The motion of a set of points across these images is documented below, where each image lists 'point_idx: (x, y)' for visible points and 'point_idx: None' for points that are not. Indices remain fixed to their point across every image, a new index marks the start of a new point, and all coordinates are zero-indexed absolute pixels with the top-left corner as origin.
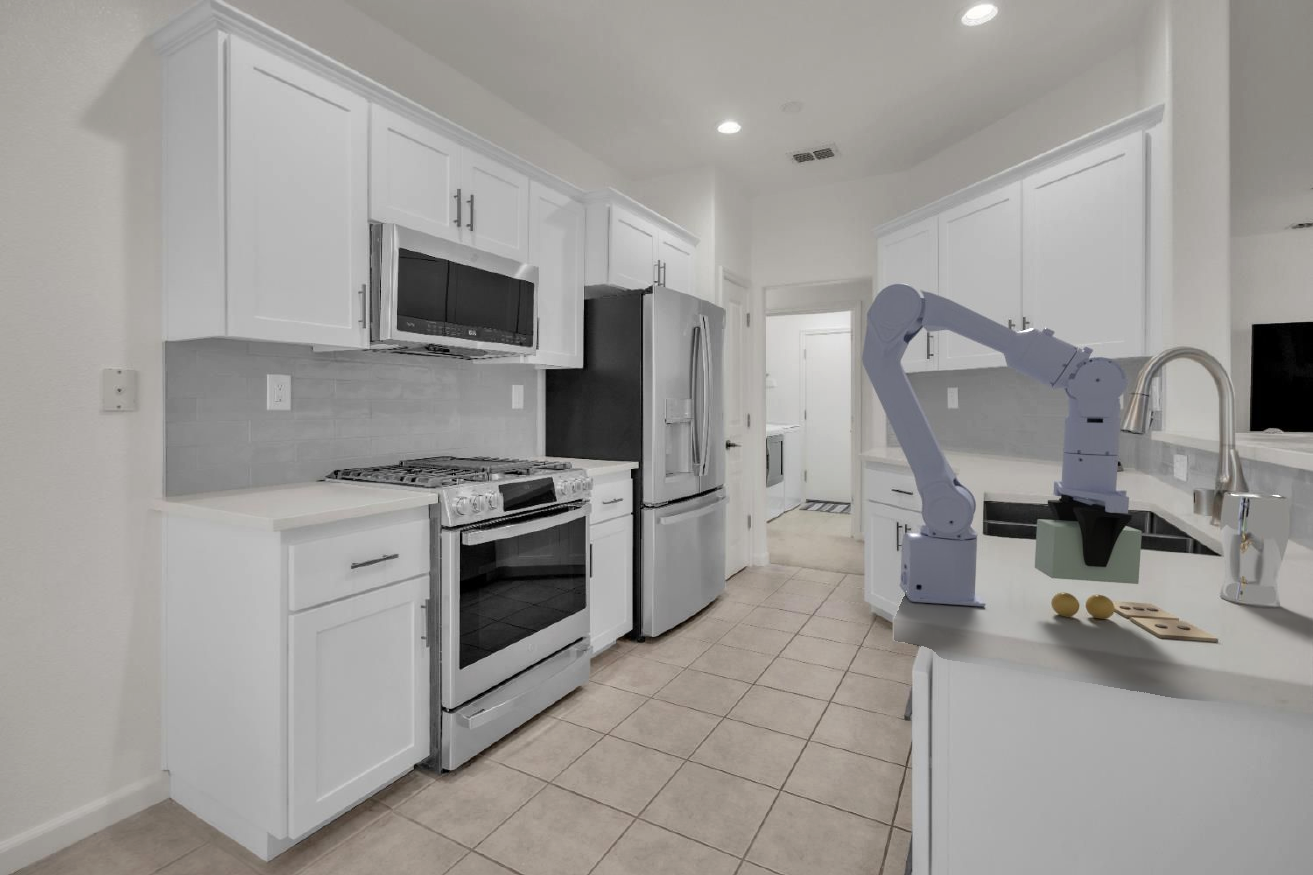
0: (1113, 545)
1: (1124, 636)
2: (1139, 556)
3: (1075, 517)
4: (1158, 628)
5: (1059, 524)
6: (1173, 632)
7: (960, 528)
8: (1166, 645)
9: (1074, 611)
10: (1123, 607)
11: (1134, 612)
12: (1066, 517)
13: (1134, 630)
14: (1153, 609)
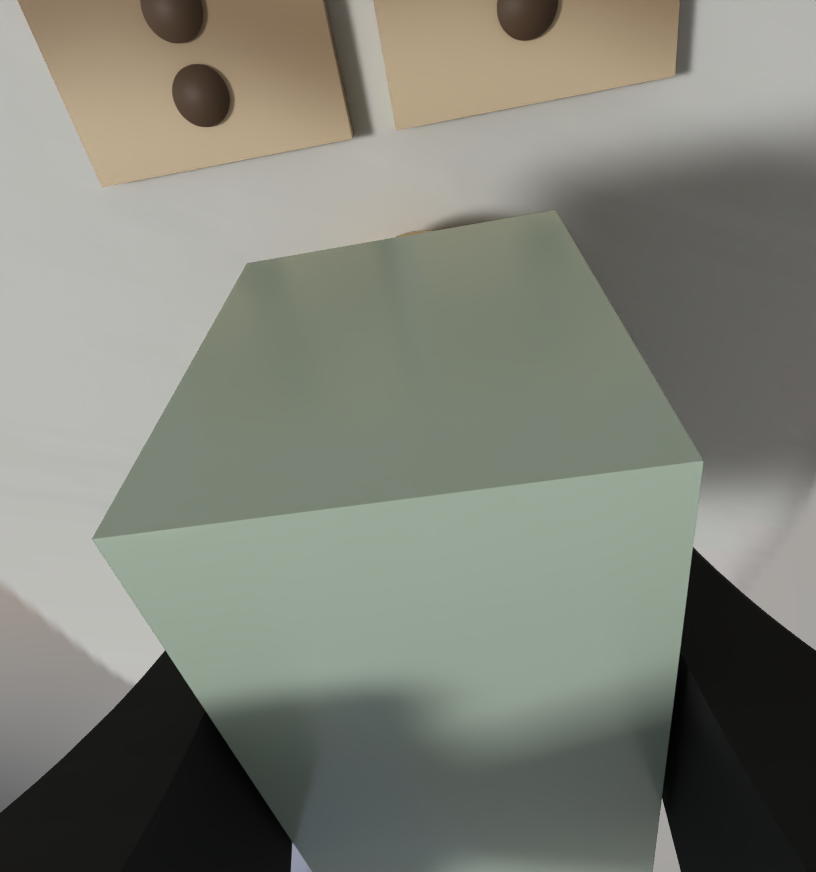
0: (715, 573)
1: (672, 240)
2: (609, 304)
3: (246, 838)
4: (570, 38)
5: None
6: None
7: None
8: (781, 81)
9: None
10: (208, 107)
11: (275, 67)
12: (271, 866)
13: (568, 161)
14: None
